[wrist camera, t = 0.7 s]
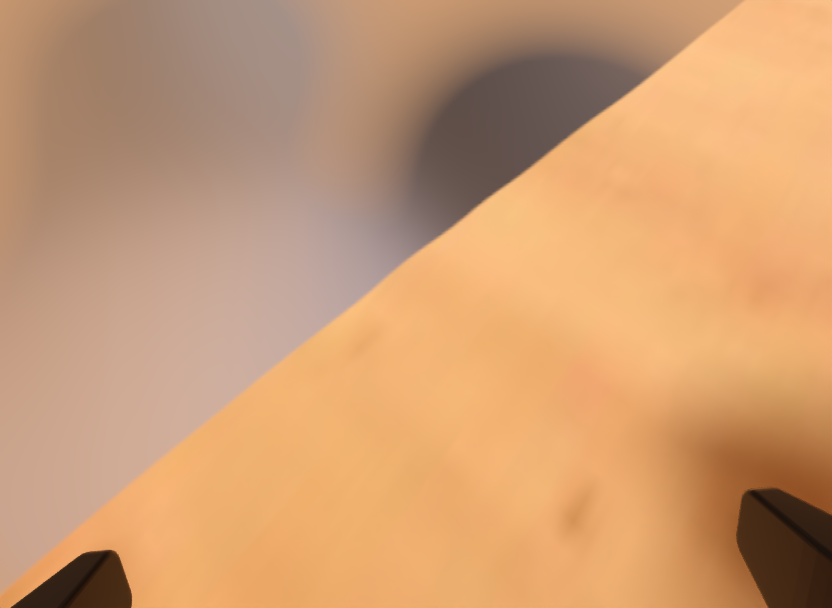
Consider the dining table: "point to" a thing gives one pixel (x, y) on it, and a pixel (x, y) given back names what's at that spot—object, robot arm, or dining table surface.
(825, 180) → the dining table surface
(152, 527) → the dining table surface
